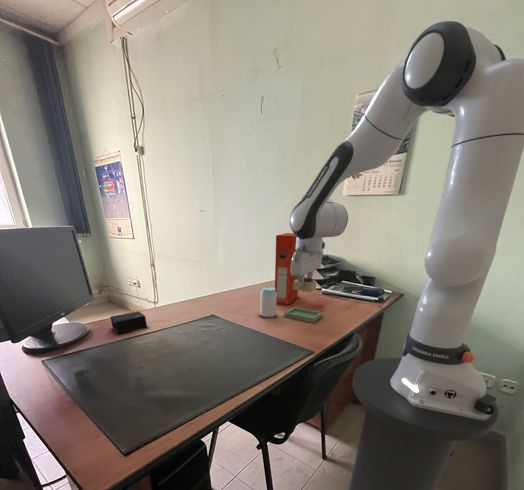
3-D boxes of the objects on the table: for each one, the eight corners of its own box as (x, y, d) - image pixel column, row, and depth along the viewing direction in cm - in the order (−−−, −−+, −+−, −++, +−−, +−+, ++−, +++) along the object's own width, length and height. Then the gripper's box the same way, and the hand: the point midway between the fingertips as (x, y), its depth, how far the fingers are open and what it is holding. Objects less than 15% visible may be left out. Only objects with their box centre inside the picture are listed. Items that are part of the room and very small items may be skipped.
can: (277, 317, 124) (278, 290, 118) (261, 318, 123) (261, 290, 117) (274, 312, 130) (275, 286, 125) (259, 312, 129) (259, 286, 124)
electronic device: (112, 328, 110) (110, 316, 107) (141, 322, 116) (138, 311, 113) (118, 334, 104) (115, 322, 102) (147, 328, 110) (145, 316, 108)
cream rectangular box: (315, 289, 105) (316, 278, 103) (310, 292, 101) (311, 281, 100) (298, 286, 108) (299, 276, 106) (292, 289, 104) (293, 278, 103)
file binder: (273, 303, 142) (276, 235, 128) (283, 295, 157) (286, 232, 143) (289, 305, 140) (293, 235, 126) (297, 296, 154) (301, 233, 140)
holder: (321, 316, 126) (322, 312, 125) (313, 323, 119) (314, 318, 118) (293, 311, 132) (294, 307, 131) (284, 316, 125) (284, 312, 124)
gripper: (305, 248, 88) (301, 292, 95) (327, 243, 104) (322, 280, 110) (287, 246, 91) (284, 289, 97) (310, 241, 107) (307, 278, 113)
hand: (304, 284), depth 104 cm, fingers closed on cream rectangular box, 5 cm apart
